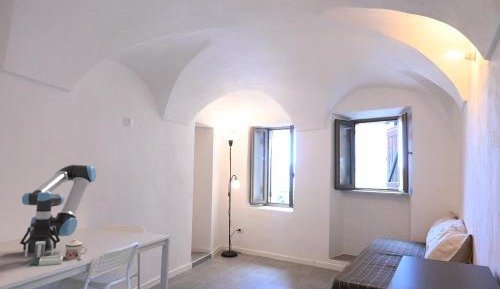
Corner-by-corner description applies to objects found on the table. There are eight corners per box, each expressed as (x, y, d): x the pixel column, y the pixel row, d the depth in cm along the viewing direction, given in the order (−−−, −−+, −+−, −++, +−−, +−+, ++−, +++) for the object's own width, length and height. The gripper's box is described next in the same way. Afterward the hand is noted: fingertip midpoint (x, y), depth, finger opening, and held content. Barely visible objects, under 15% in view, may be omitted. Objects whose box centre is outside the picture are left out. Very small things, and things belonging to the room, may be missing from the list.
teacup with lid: (62, 260, 188) (64, 241, 189) (66, 256, 197) (68, 237, 198) (84, 260, 191) (85, 241, 192) (87, 256, 200) (89, 237, 201)
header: (40, 261, 182) (41, 256, 182) (62, 259, 187) (63, 255, 187) (38, 265, 175) (39, 260, 175) (61, 263, 180) (62, 258, 180)
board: (31, 260, 187) (32, 254, 187) (62, 258, 194) (63, 252, 194) (26, 269, 171) (26, 263, 171) (60, 266, 178) (60, 260, 178)
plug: (34, 258, 186) (36, 241, 187) (43, 258, 188) (45, 241, 189) (33, 261, 182) (35, 243, 183) (42, 260, 184) (44, 242, 184)
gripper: (16, 219, 178) (12, 258, 176) (66, 218, 189) (62, 255, 187) (19, 217, 185) (15, 255, 183) (67, 216, 196) (63, 252, 194)
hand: (39, 255), depth 185 cm, fingers open, 12 cm apart
